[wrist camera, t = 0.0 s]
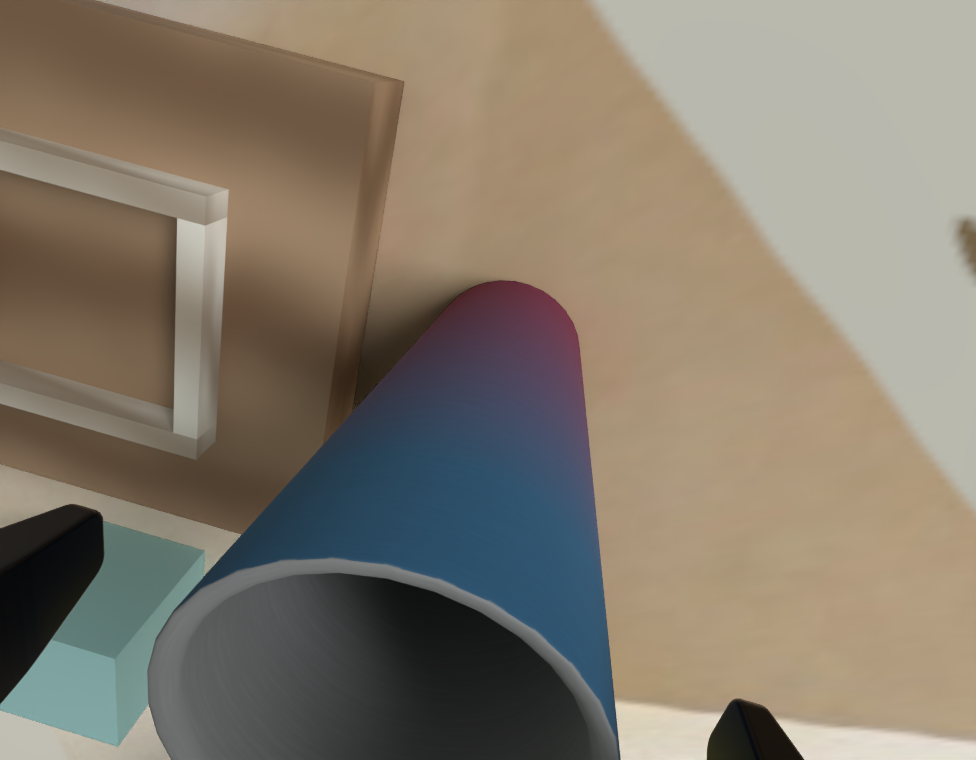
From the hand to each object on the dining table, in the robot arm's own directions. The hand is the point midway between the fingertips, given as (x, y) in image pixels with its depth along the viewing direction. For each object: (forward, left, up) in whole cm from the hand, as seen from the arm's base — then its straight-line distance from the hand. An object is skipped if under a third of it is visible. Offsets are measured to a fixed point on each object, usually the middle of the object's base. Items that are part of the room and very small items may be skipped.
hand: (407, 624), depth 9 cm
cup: (-2, 0, -14) cm, 15 cm away
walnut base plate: (-2, +13, -14) cm, 19 cm away
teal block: (-17, +13, -14) cm, 26 cm away
